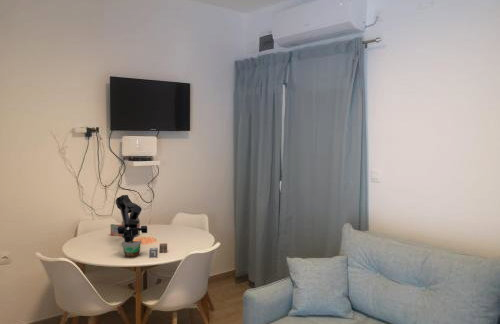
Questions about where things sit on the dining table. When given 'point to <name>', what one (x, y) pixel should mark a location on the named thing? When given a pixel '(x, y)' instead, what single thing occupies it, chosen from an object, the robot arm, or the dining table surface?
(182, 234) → the dining table surface
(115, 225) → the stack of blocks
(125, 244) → the food container
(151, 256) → the charcoal block numbered 7
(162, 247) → the walnut block numbered 1
